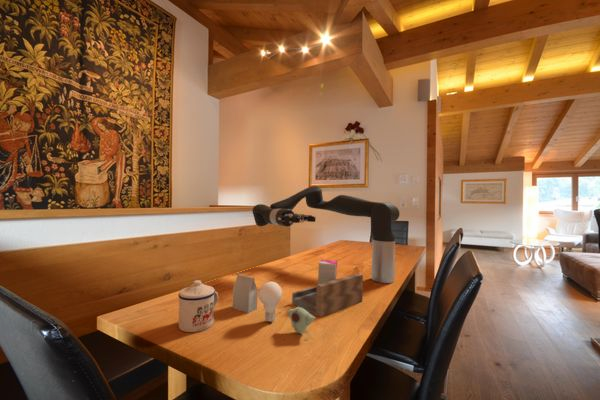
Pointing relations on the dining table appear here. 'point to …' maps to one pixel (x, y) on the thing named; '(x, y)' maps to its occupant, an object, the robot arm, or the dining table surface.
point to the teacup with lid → (196, 307)
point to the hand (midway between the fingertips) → (307, 219)
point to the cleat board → (330, 295)
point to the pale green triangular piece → (300, 319)
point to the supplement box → (327, 271)
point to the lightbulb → (270, 299)
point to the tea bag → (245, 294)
